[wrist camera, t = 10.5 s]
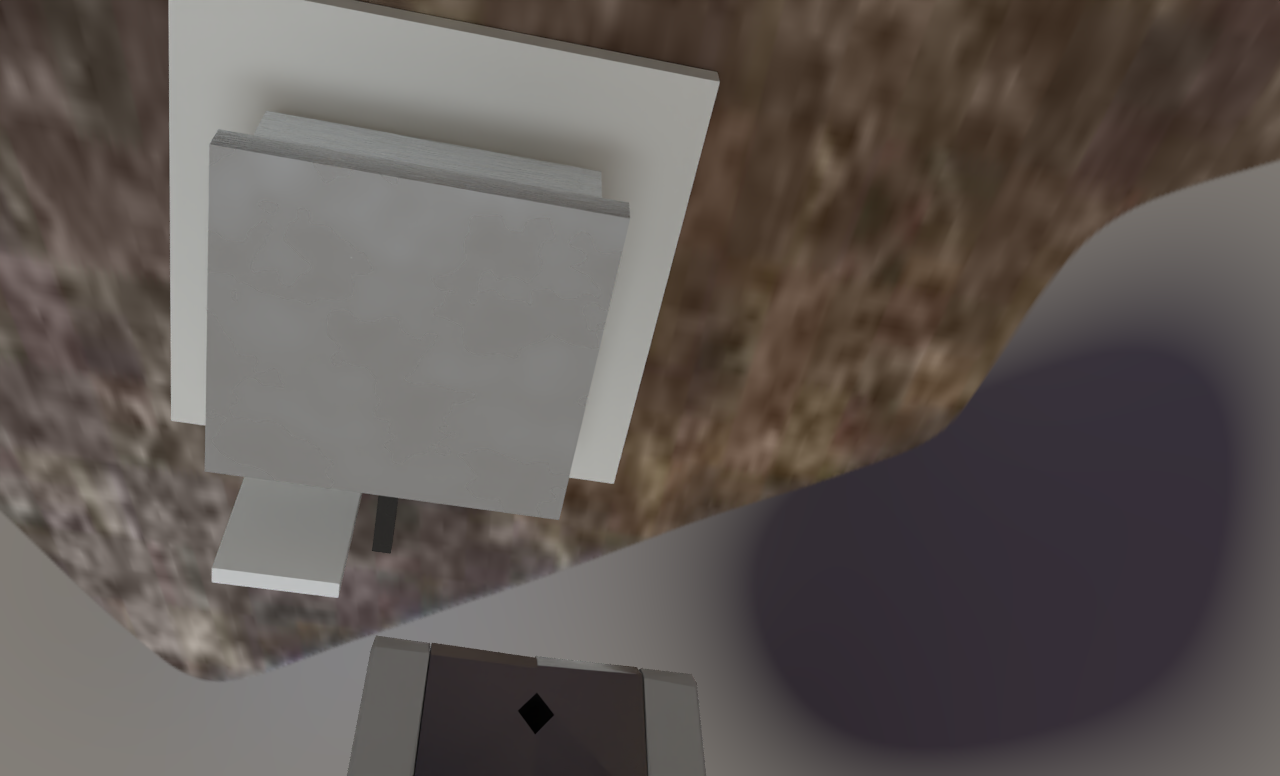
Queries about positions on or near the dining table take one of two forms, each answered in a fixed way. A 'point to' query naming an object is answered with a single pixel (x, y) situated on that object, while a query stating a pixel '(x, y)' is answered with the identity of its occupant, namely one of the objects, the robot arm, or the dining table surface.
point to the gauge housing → (438, 111)
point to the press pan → (402, 315)
